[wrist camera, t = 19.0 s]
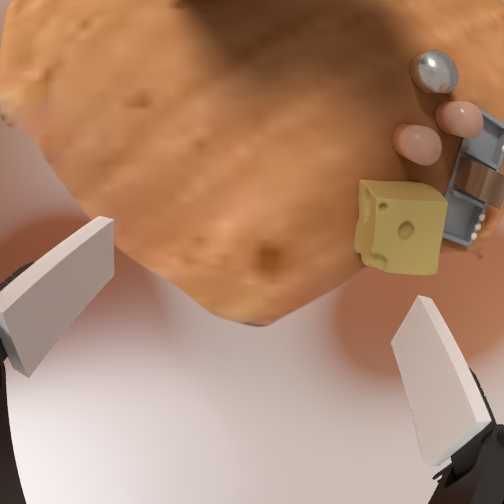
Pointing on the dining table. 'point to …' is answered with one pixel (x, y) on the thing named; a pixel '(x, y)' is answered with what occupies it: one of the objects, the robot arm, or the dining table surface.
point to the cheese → (400, 226)
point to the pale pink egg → (459, 119)
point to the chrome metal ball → (434, 72)
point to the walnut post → (480, 181)
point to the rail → (461, 202)
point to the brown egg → (417, 143)
